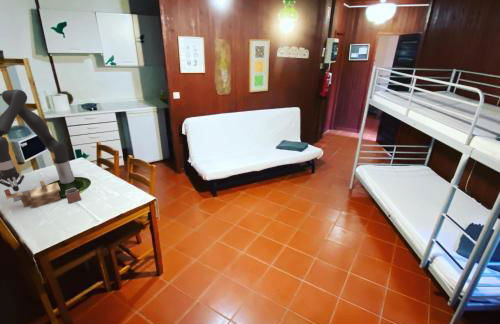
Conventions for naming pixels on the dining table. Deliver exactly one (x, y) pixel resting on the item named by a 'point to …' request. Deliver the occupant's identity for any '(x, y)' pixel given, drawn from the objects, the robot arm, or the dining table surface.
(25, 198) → the toolbox
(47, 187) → the lid
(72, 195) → the lighter
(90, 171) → the dining table surface
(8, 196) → the wooden block with peg
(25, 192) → the mat
